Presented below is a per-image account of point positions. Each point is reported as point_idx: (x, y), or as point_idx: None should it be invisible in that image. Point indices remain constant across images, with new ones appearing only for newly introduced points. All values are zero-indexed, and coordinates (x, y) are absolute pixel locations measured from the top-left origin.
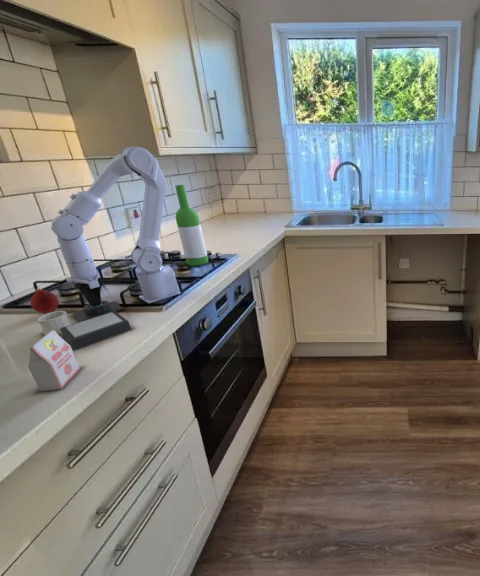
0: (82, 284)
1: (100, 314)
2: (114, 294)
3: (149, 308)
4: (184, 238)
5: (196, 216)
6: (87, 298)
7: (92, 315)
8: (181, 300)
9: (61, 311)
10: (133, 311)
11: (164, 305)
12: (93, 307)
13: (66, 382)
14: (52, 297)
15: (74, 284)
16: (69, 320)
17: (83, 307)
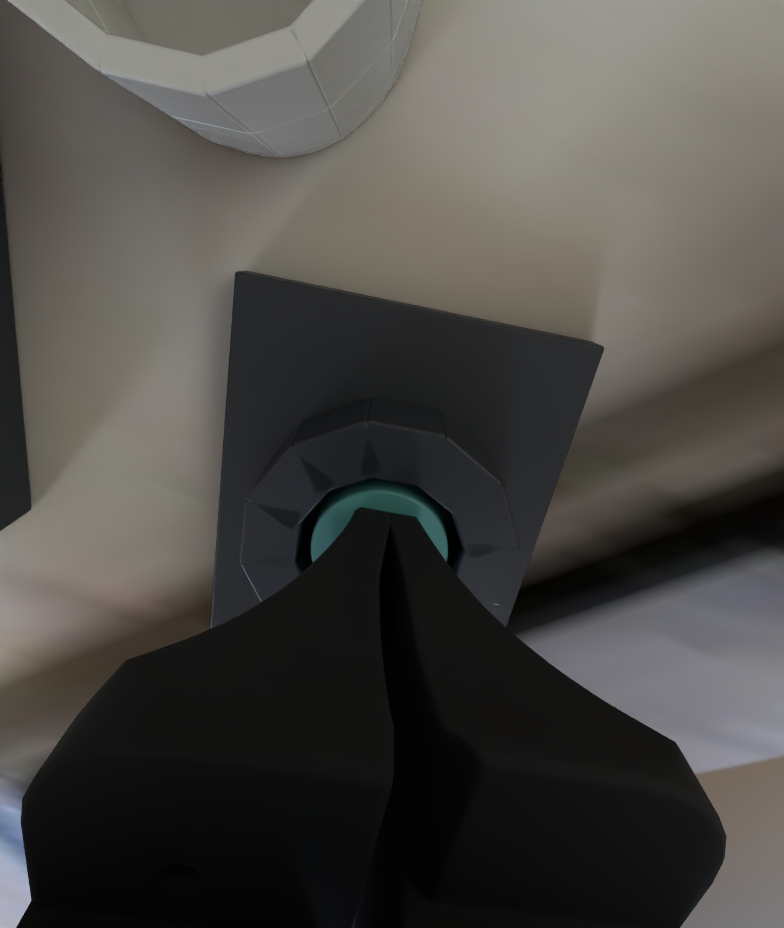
0: (274, 900)
1: (241, 474)
2: (690, 757)
3: (54, 724)
4: None
5: None
6: (312, 565)
7: (294, 421)
8: (13, 869)
9: (253, 40)
10: (104, 646)
11: (17, 790)
12: (333, 504)
13: None
14: None
15: (668, 808)
16: (167, 114)
17: (451, 445)
